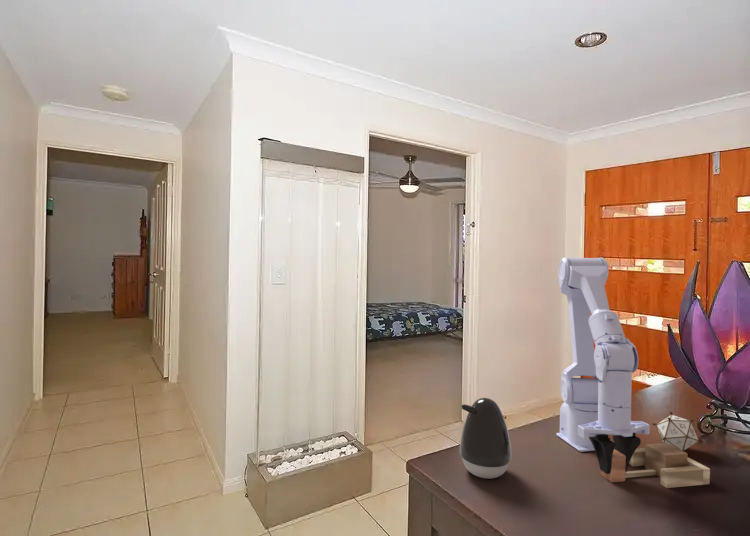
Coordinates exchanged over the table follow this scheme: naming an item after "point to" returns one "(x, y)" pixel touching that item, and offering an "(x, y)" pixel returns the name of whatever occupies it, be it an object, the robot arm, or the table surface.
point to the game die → (677, 432)
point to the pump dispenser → (485, 440)
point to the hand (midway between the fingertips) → (613, 470)
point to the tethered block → (647, 462)
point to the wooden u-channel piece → (676, 472)
